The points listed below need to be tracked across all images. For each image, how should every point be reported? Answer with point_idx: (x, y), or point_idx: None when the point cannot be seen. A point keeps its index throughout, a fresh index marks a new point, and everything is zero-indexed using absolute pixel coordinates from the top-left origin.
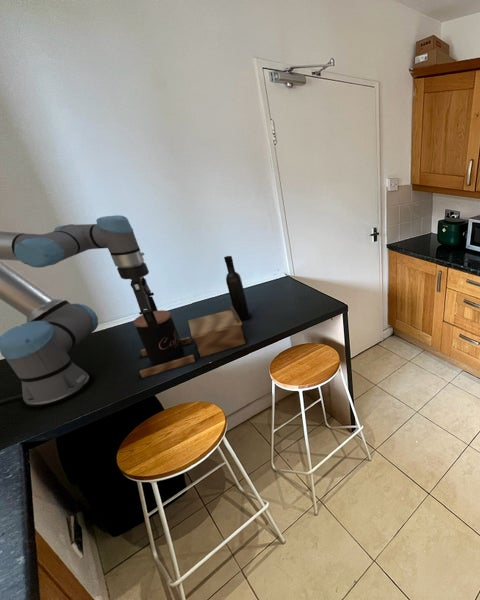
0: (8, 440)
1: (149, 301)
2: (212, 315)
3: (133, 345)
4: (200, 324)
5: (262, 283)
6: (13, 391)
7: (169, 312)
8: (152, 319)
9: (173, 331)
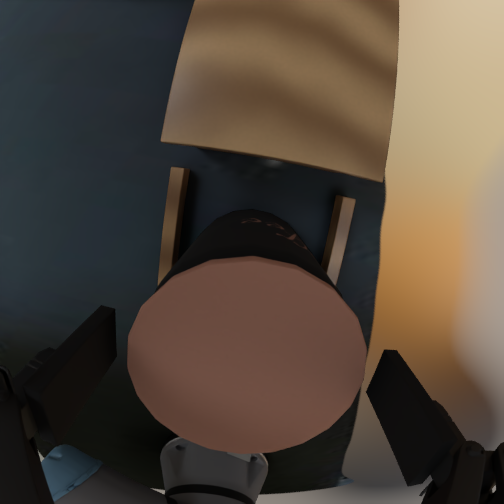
0: (320, 488)
1: (65, 394)
2: (205, 22)
3: (78, 325)
4: (277, 98)
5: None
6: (159, 485)
7: (251, 263)
8: (445, 411)
9: (308, 252)
